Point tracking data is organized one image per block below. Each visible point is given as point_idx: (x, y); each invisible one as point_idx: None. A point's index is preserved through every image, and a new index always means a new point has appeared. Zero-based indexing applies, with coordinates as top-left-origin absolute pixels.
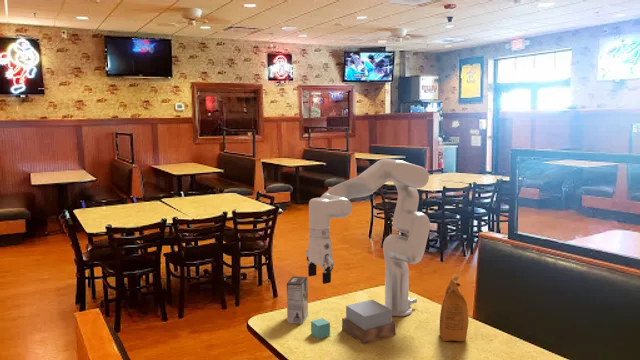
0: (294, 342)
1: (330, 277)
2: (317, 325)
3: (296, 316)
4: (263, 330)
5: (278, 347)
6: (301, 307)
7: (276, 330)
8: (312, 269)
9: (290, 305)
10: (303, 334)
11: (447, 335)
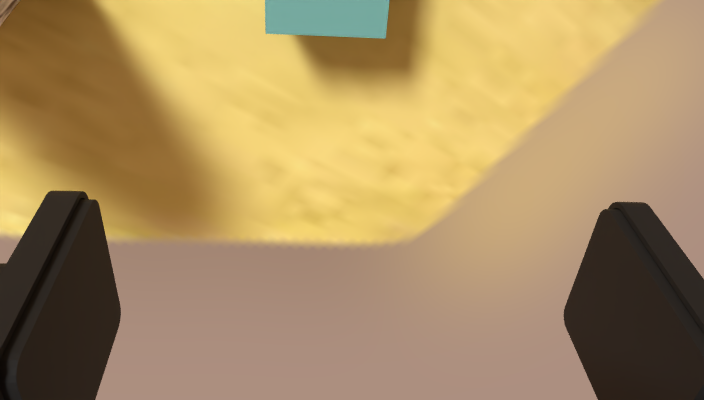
0: (321, 147)
1: (685, 269)
2: (373, 37)
3: (10, 6)
4: None
5: (323, 236)
6: (1, 5)
7: (97, 155)
8: (73, 374)
9: None
10: (248, 44)
11: None
